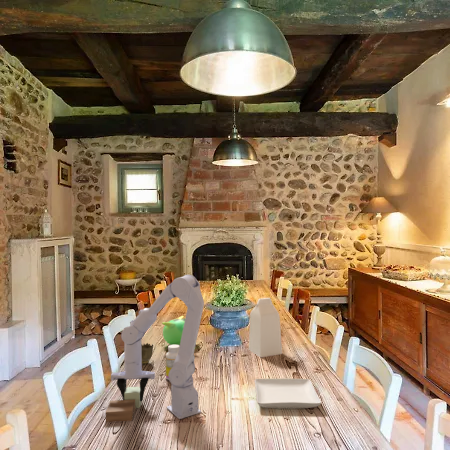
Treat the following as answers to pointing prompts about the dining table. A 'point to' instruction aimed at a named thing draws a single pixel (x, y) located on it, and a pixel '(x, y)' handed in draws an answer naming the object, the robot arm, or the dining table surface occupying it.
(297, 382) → the salad plate
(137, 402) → the green cube
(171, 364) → the supplement bottle
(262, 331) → the milk
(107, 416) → the walnut block
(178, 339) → the green rounded piece
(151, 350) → the cup
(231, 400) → the dining table surface
